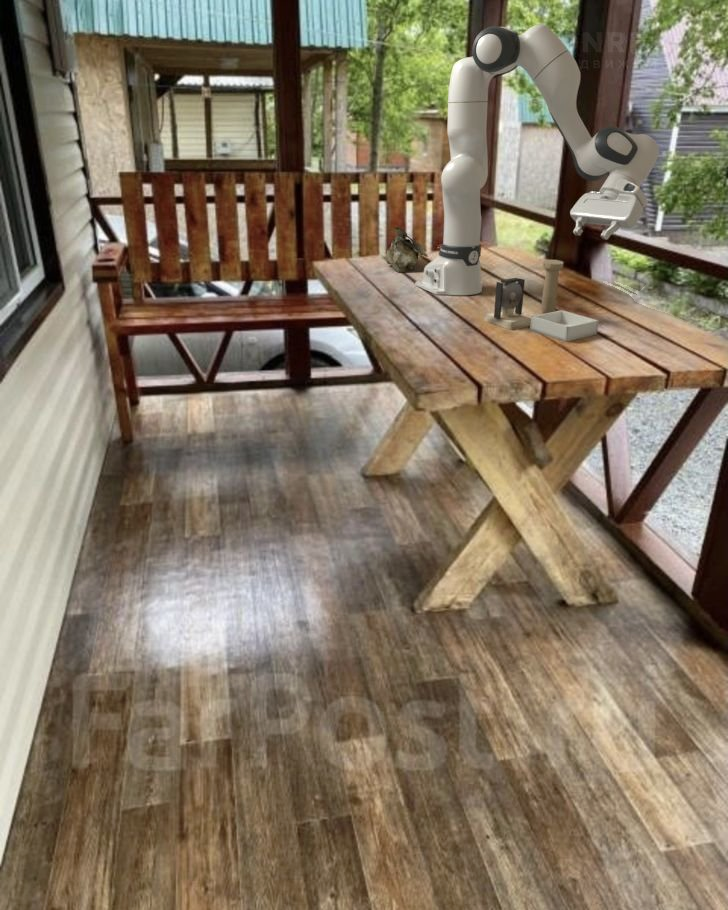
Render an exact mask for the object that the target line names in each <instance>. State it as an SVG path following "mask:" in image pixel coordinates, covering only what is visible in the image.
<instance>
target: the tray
mask: <svg viewBox="0 0 728 910" xmlns="http://www.w3.org/2000/svg"><path fill="white" fill-rule="evenodd" d="M530 318H531V324H530V326H529V331H531V332H535V333H537V334H540V335H544V336H547V337H550V338H553V339H556V340H560V341H562V342H570V341H571V342H572V341H574V340H579V339H583V338H587V337H591V336H596V335H598V329H599V320H598V319H594V318H591V317H588V316H584V315H580V314H576V313H574V312H569V311H566V310H562V309H561V310H557V311H556V310H555V312H550V313H546V314H536V315H533V316H531V317H530Z"/></svg>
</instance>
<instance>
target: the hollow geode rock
mask: <svg viewBox="0 0 728 910" xmlns="http://www.w3.org/2000/svg"><path fill="white" fill-rule="evenodd" d="M392 228H393V230H394V231H395V232H396V236H395V237H393V239H392V240H391V242H390V244H391V245H390V247H389V248H388V249H387V251H386V253H385V259H386V264H388V265H391V266H392V268H393V269H394V270H395V272H397V273H405V272H410V271H411V272H412V271H415V268H416V265H417V264H418V263H419V255H420V256H423V257H426V258H428V257H429V255H428V253H427V252H426V251H425V250H424V248H423V246H422V244H421V243H419V242H417V241H415V240H414V239H413V238H411V237H410V236H409V235H408V233H406V232H405V231H404V230H403V229H402V228H400V227H399V226H398V227H397V226H393V227H392Z"/></svg>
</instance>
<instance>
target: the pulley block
mask: <svg viewBox="0 0 728 910" xmlns="http://www.w3.org/2000/svg"><path fill="white" fill-rule="evenodd" d="M525 280H526V279H523V278H520V277H519V278H518V277H511V278H505V279H500V282H499V281H497V282H496V286H495V287H496V288H495V300H494V311H493V312H488V313H484V322H486V323H488V324H490V325H491V324H492V325H496V326H498V327H501V328H505V329H507V330H511V331H512V330H516V329H521V328H526V327H527V328H528V327H530V324H531V317H527V316H525V315H522V312H523V305H524V303H523V301H524V293H525V291H524V290H525V282H526V281H525Z"/></svg>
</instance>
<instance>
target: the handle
mask: <svg viewBox="0 0 728 910" xmlns="http://www.w3.org/2000/svg"><path fill="white" fill-rule="evenodd" d="M542 265H543V269H545V277H544V284H543V290H542V295H541V314H546V313H550V312H555V311H556V305H557V302H558V288H559V275H560V271H561V270H562V269H563V268H564V261H563V260H558V259H544V260H543V264H542ZM541 314H540V315H541Z"/></svg>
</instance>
